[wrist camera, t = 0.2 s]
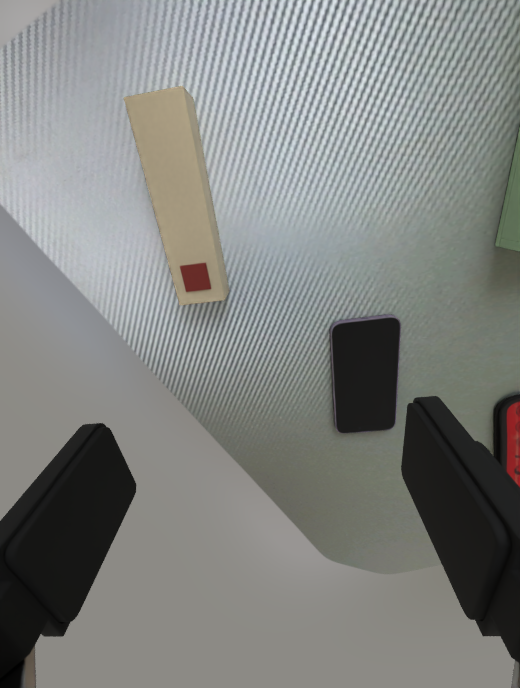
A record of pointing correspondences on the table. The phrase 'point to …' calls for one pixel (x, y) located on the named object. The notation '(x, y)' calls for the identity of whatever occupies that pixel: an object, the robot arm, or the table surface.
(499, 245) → the bin
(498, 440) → the binder
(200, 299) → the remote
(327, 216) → the table surface
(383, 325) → the smartphone
